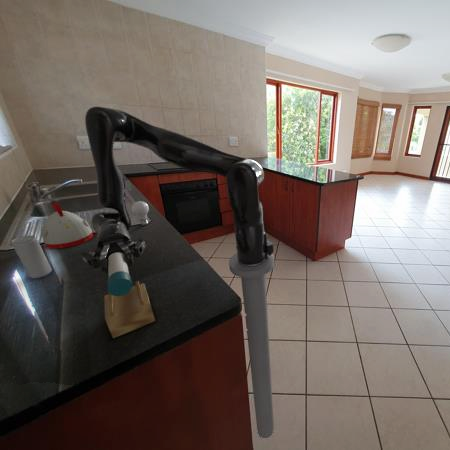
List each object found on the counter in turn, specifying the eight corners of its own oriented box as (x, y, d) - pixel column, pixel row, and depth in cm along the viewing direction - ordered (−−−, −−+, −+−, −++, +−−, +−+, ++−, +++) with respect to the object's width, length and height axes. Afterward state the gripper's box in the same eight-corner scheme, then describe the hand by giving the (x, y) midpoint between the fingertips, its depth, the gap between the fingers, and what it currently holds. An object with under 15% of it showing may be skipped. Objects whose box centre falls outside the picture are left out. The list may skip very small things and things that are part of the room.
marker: (109, 268, 59) (104, 254, 57) (128, 263, 61) (124, 249, 60) (111, 299, 48) (104, 283, 46) (134, 291, 50) (129, 275, 49)
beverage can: (53, 268, 74) (37, 233, 70) (51, 275, 71) (33, 239, 66) (32, 273, 72) (13, 238, 67) (28, 281, 68) (8, 244, 64)
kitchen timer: (49, 252, 83) (31, 212, 77) (42, 241, 91) (24, 204, 85) (98, 238, 94) (85, 202, 88) (87, 229, 101) (75, 195, 95)
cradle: (149, 300, 62) (143, 279, 59) (155, 321, 55) (148, 299, 53) (111, 313, 57) (102, 292, 55) (113, 338, 51) (103, 315, 48)
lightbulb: (141, 228, 103) (134, 204, 98) (133, 225, 105) (126, 202, 101) (155, 223, 108) (150, 200, 103) (147, 221, 110) (141, 198, 106)
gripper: (77, 234, 63) (71, 262, 50) (139, 222, 71) (148, 243, 58) (87, 259, 65) (84, 291, 53) (146, 244, 74) (155, 269, 61)
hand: (117, 266), depth 56 cm, fingers closed on marker, 3 cm apart
